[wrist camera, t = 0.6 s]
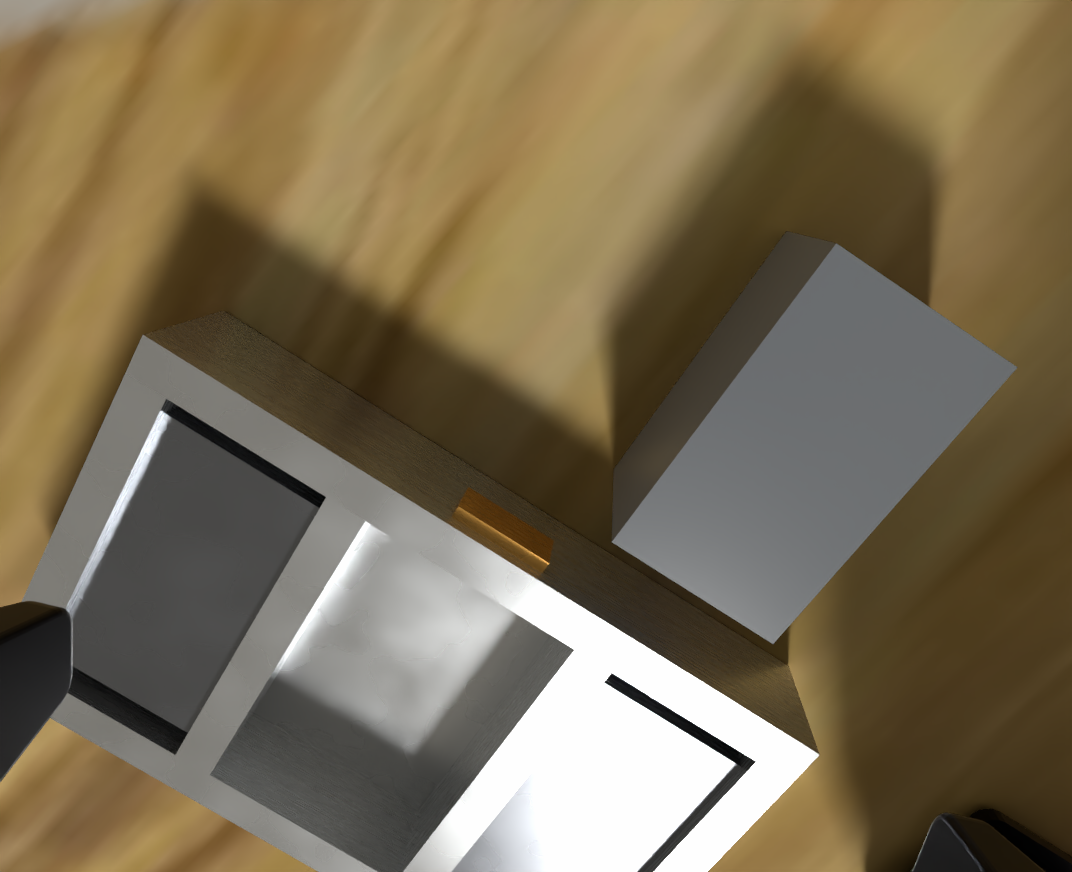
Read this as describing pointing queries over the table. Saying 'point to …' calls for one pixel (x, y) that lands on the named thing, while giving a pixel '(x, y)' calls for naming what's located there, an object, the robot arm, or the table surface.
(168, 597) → the rack
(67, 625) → the robot arm
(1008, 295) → the table surface
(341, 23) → the table surface
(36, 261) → the table surface
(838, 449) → the grey upright box
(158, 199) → the table surface
